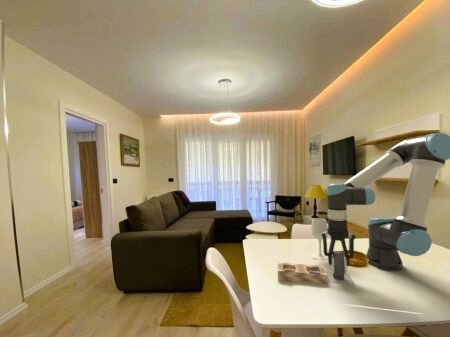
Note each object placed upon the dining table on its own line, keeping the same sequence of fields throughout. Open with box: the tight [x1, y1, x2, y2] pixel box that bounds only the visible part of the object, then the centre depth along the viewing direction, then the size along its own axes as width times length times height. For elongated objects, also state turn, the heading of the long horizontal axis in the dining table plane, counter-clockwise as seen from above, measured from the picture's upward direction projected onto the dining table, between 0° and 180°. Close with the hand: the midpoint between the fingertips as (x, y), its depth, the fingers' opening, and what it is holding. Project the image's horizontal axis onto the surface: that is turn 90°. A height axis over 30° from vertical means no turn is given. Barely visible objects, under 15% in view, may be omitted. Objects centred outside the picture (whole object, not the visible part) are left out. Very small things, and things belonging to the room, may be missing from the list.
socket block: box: [277, 262, 328, 285], centre depth 98 cm, size 20×9×5 cm, turn 76°
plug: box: [332, 250, 345, 280], centre depth 96 cm, size 4×4×11 cm
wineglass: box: [311, 217, 328, 261], centre depth 119 cm, size 9×9×21 cm
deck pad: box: [326, 271, 356, 286], centre depth 96 cm, size 10×10×1 cm
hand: (338, 272), depth 96 cm, fingers closed on plug, 4 cm apart
